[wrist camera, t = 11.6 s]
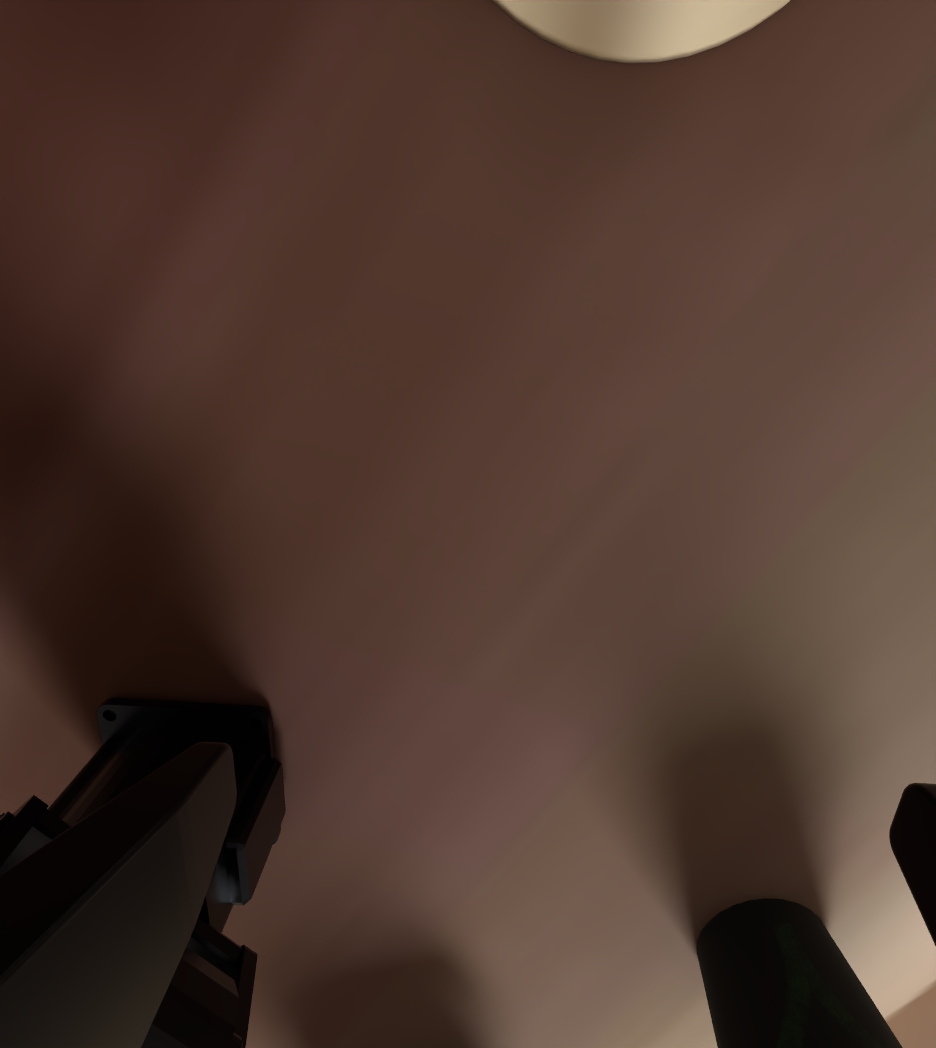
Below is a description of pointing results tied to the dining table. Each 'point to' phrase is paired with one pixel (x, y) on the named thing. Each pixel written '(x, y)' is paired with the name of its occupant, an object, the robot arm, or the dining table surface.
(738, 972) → the cup
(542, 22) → the cork mat
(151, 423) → the dining table surface
